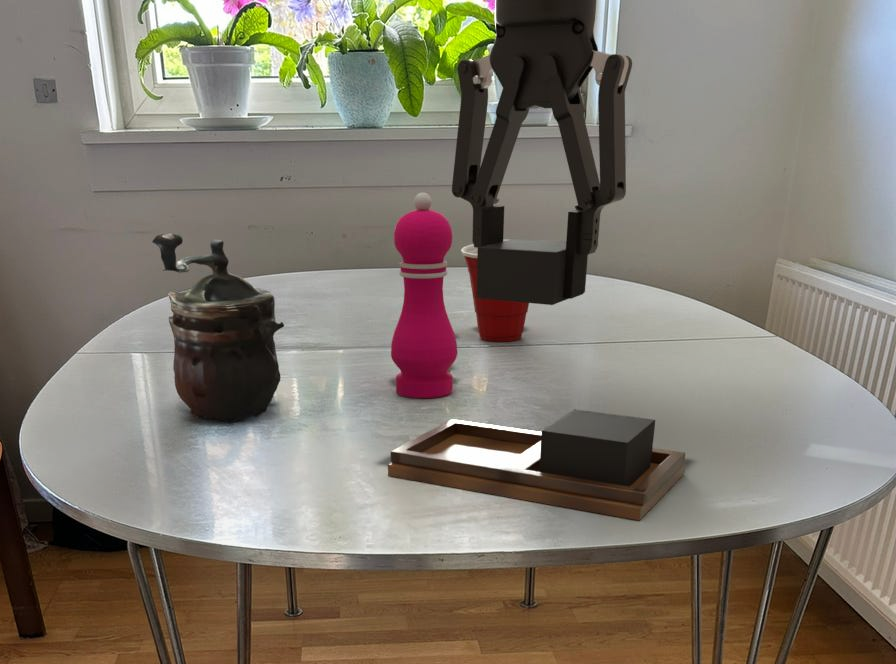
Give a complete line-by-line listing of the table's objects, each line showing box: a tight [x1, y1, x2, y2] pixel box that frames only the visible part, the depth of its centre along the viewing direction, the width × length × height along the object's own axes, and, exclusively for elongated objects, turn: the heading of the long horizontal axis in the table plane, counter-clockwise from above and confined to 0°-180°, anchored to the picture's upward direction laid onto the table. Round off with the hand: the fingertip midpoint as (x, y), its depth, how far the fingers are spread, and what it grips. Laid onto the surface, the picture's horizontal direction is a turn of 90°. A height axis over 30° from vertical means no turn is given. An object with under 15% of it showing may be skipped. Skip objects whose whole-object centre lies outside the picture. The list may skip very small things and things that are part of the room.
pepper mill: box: [390, 192, 458, 399], centre depth 100 cm, size 7×7×20 cm
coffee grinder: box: [152, 233, 285, 424], centre depth 93 cm, size 13×15×18 cm
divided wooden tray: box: [387, 418, 687, 521], centre depth 80 cm, size 22×12×2 cm, turn 60°
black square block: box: [540, 408, 656, 487], centre depth 76 cm, size 7×7×4 cm
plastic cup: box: [460, 239, 530, 342], centre depth 127 cm, size 11×11×12 cm
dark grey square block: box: [476, 238, 589, 306], centre depth 80 cm, size 7×7×4 cm
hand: (531, 291), depth 81 cm, fingers closed on dark grey square block, 7 cm apart
